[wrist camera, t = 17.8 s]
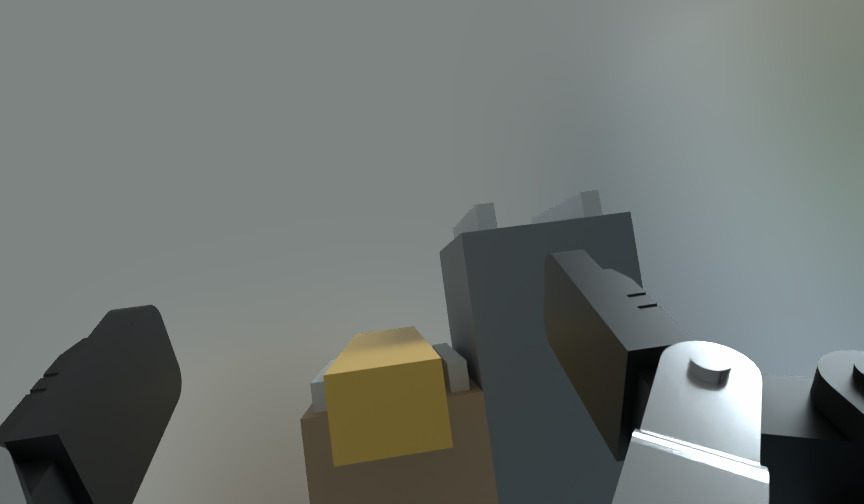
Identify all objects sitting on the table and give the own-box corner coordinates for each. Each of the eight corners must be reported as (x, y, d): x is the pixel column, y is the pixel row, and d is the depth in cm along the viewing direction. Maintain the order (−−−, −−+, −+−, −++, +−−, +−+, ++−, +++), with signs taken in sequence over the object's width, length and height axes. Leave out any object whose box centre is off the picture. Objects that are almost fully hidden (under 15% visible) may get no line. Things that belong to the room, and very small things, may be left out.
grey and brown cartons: (736, 867, 25) (625, 183, 28) (361, 959, 24) (278, 225, 26) (625, 684, 37) (555, 217, 40) (371, 737, 36) (313, 247, 38)
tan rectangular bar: (453, 447, 18) (441, 358, 18) (333, 467, 17) (322, 375, 18) (419, 369, 37) (413, 326, 37) (361, 377, 36) (356, 334, 36)
